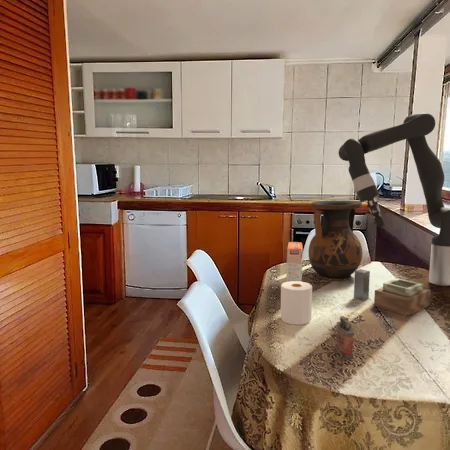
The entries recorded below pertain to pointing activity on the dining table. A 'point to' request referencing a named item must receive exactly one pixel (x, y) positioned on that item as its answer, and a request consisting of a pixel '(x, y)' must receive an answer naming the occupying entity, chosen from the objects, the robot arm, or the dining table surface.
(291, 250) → the cracker box
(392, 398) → the dining table surface
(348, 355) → the lighter
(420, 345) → the dining table surface
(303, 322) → the toilet paper
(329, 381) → the dining table surface
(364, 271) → the peg
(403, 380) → the dining table surface
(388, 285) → the stand
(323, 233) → the vase
